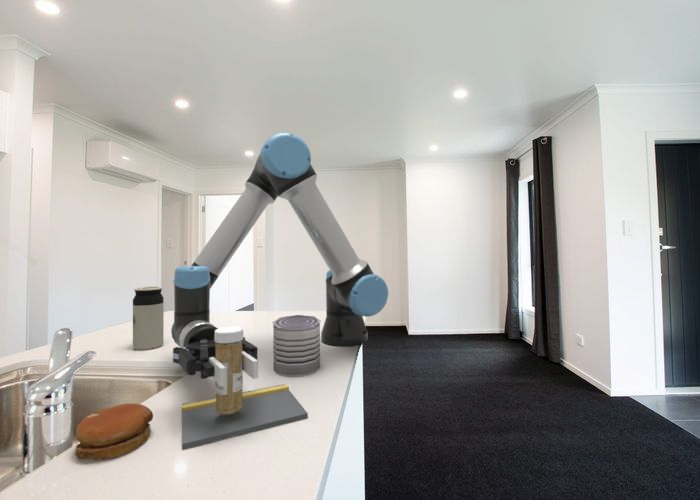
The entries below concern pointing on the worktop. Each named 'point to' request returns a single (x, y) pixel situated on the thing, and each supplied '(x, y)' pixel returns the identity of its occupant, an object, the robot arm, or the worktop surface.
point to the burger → (113, 431)
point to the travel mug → (148, 318)
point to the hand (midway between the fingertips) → (239, 373)
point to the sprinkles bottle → (229, 369)
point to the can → (296, 345)
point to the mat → (239, 416)
